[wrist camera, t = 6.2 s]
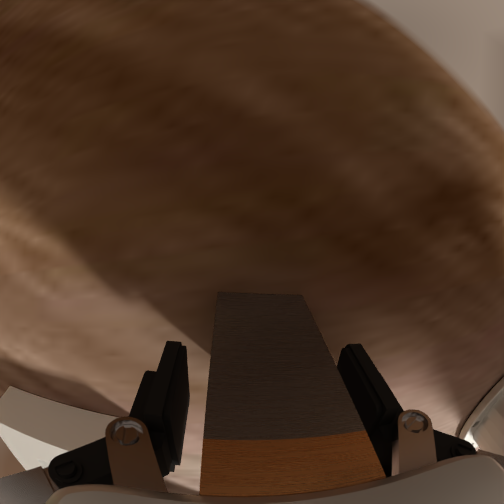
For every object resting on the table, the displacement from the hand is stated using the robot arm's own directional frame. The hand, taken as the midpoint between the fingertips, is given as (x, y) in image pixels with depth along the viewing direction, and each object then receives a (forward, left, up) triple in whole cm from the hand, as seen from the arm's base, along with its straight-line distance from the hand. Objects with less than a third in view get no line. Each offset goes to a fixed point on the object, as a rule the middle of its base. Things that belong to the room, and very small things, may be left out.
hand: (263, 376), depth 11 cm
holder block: (+13, +14, -4) cm, 19 cm away
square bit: (0, 0, -4) cm, 4 cm away
